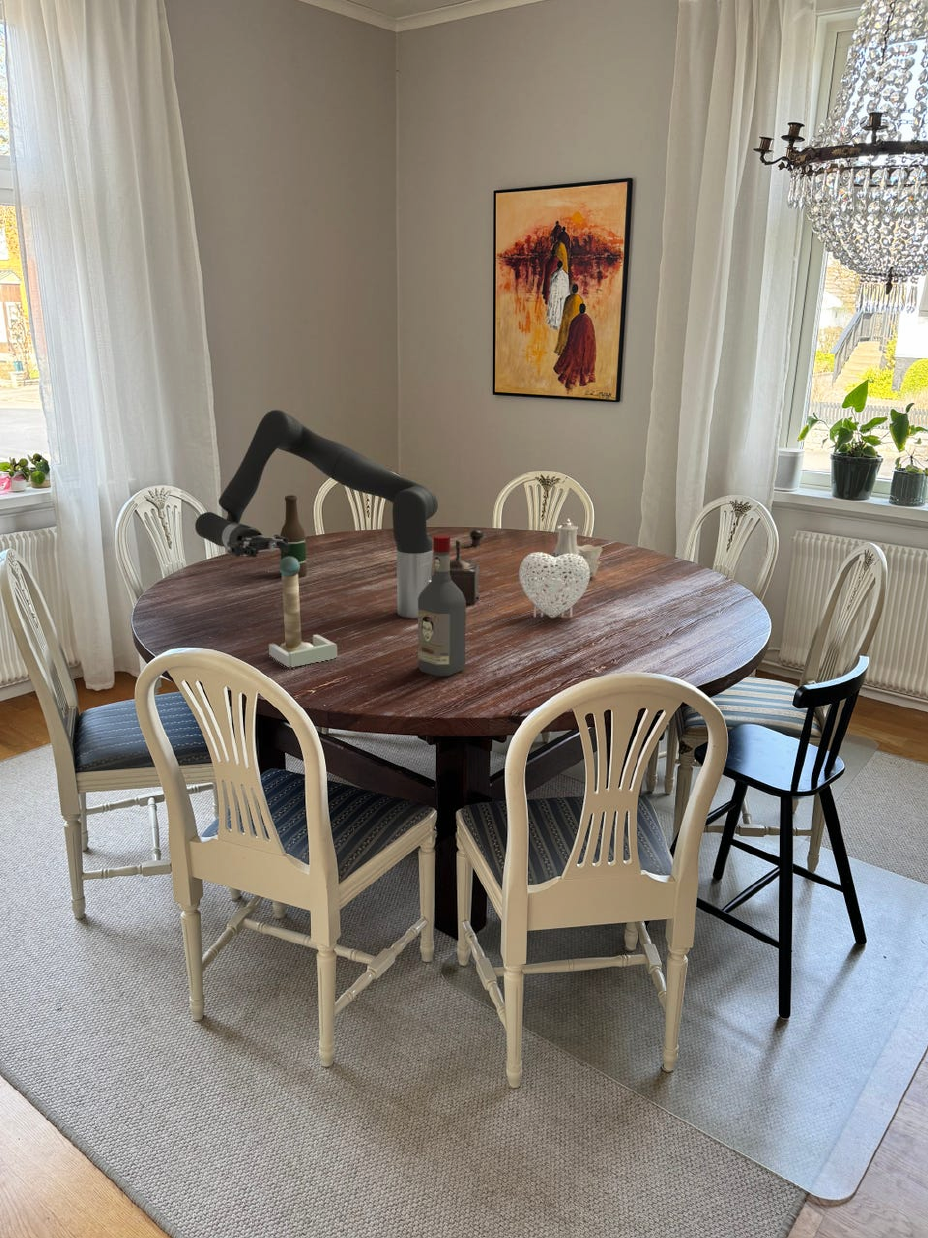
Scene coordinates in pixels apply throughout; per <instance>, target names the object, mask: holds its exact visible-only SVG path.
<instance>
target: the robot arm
mask: <svg viewBox="0 0 928 1238" xmlns="http://www.w3.org/2000/svg"><path fill="white" fill-rule="evenodd" d="M277 449H279V450H281V451H284V452H287V453H290V454H291V455H294V456H296V457H298V458H302V459H303V460H305V461H307V462H309V463H310V464H312V465H313V466H314V467H316V469H318V470H319V471H320V472H322V473H323V474H324V475H326V476H327V477H329V478H330V479H332V480H334V481H336V482H337V483H339V484H341V485H343V486H345V488H348V489H349V490H350V489H351V490H353V491H356V492H359V493H363V494H367V495H372V496H374V497H379V498H382V499H384V500H387V502H390V503H392V512H391V513H392V530H393V531H392V532H393V538H394V541H395V543H396V580H397V581H396V584H397V587H396V588H397V589H396V592H397V595H396V597H397V614H398V616H400V617H403V618H406V619H407V618H408V619H418V597H419V594H420V593H421V592H422V591H423V590H424V588H425V587H426V586H427V585H428V584H429V583H430V582H431V581H432V580H433V575H434V551H433V539H432V538H431V537H430V536H428V528H427V527H428V526H427V521H428V520H429V519H431V518H432V517H434V515H435V514H436V513H437V511H438V509H439V507H438V506H439V504H438V499H437V496H436V495H435V493H434V492H433V491H432V490H431V489H430V488H429V487H427V486H424V485H423V484H420V483H418V482H416V481H412V480H411V479H408V478H405V477H402V476H400V475H399V474H396V473H394V472H393V471H391V470H389V469H388V468H386V467H385V466H383V465H381V464H379V463H377V462H375V461H374V460H372V459H370V458H368V457H367V456H365V455H363V454H362V453H360V452H358V451H356V450H354V449H353V448H351V447H349V446H346V445H345V444H343V443H339V442H337V441H334V440H330V439H328V438H324V437H323V436H320V435H319V434H317V433H316V432H314V431H313V430H311V429H310V428H308V427H307V426H306V425H304V424H303V423H301V422H300V421H299V420H298V419H296V418H295V417H294V416H292V415H290V414H288V413H286V412H284V411H283V410H279V409H274V410H271V411H269V412H267V413H265V414H264V416H263V417H262V418H261V420H260V422H259V424H258V426H257V428H256V430H255V433H254V435H253V438H252V439H251V442H250V445H249V446H248V449H247V451H246V453H245V455H244V457H243V459H242V460H241V463H240V465H239V466H238V468H237V470H236V472H235V474H234V475H233V476H232V478H231V479H230V482H229V483H228V484H227V486H226V488H225V489H224V491H223V492H222V494H221V495H220V497H219V498H218V504H219V506H220V507H221V508H222V509H223V510H224V511H226V512H227V517H226V518H223V516H221V515H219V514H217V513H215V512H212V511H206V512H203V513H202V514H200V515H199V516H198V517H197V519H196V520H195V524H194V525H195V526H194V527H195V531H196V534H197V535H198V536H199V537H200V538H203V539H205V540H207V541H208V542H211V543H213V544H215V545H216V546H219V547H224V548H226V549H227V553H228V554H230V555H231V556H233V557H236V558H237V557H238V558H239V557H241V556H243V557H246V558H257V557H258V554H259V553H263V552H275V551H276V550H277V551H280V552H281V551H283V552H289V550H290V545H289V541H288V540H289V538H286V537H283V536H280V535H279V534H274V535H273V536H265V535H263V533H261V531H260V530H258V529H257V528H256V527H252V526H250V525H247V524H244V523H240V522H241V519H242V517H243V514H244V512H245V511H246V509H247V507H248V505H249V504H250V502H251V501H252V499H253V498H254V496H255V495H256V493H257V491H258V489H259V485H260V483H261V479H262V477H263V472H264V470H265V466H266V465H267V462H268V461H269V459H270V458H271V457H272V455H273V453H275V451H276V450H277Z"/></svg>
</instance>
